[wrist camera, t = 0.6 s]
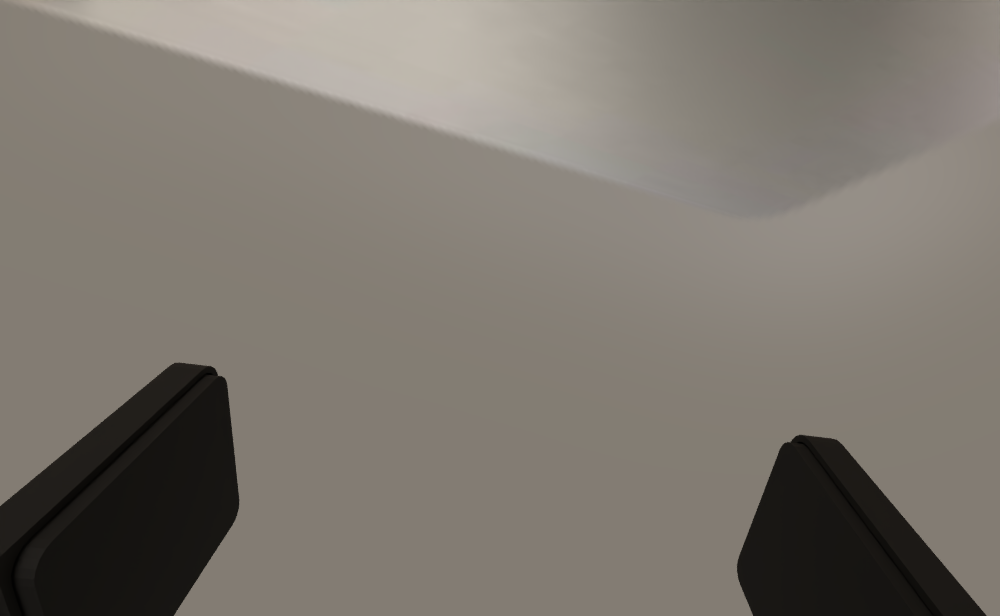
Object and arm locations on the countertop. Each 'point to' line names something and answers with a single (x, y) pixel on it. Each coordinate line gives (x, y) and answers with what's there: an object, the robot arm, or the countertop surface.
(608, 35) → the countertop surface
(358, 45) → the countertop surface
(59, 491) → the robot arm
